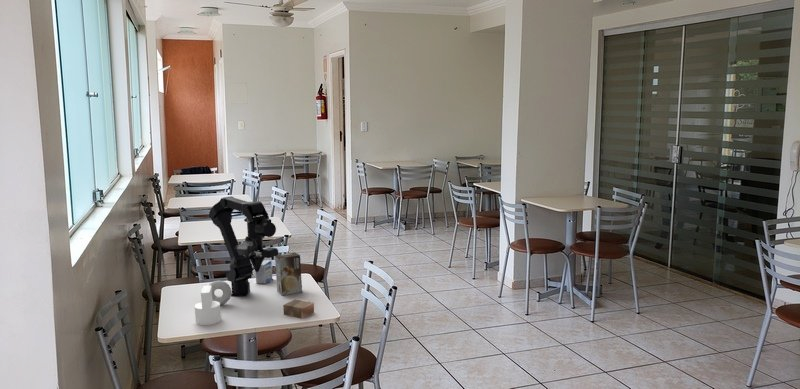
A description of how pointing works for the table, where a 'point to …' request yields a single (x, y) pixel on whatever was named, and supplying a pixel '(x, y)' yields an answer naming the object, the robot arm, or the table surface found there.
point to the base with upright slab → (207, 308)
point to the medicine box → (264, 272)
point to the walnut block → (298, 308)
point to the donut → (224, 288)
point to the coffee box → (288, 273)
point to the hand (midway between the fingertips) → (257, 271)
